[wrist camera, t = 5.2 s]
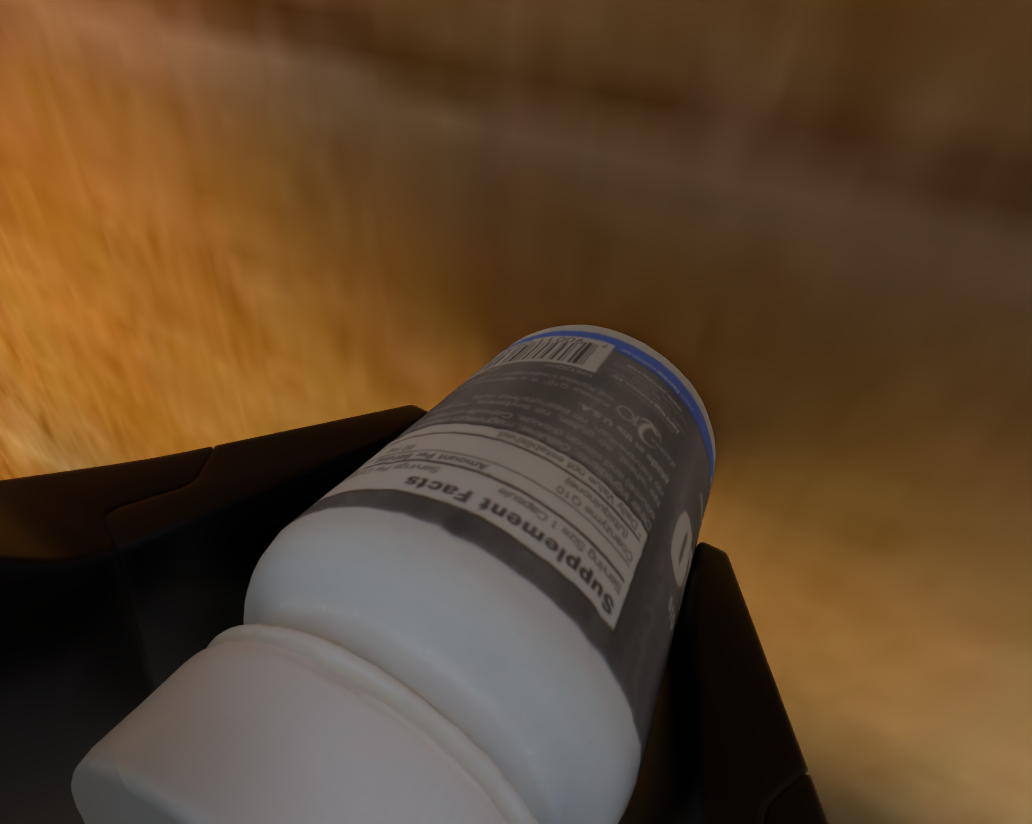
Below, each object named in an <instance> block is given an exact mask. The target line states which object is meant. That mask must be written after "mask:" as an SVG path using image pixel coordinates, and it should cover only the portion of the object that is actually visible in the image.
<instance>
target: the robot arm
mask: <svg viewBox="0 0 1032 824" xmlns="http://www.w3.org/2000/svg"><path fill="white" fill-rule="evenodd" d="M427 413H428V412H427V411H425V410H423V409H421V408H419V407H417V406H414V405H408V406H403V407H398V408H393V409H389V410H384V411H379V412H374V413H370V414H365V415H360V416H355V417H350V418H346V419H341V420H336V421H331V422H327V423H322V424H317V425H312V426H307V427H303V428H298V429H293V430H288V431H284V432H279V433H274V434H269V435H264V436H260V437H255V438H250V439H245V440H240V441H236V442H231V443H226V444H221V445H217V446H215V447H214V449H213V448H212V447H206V448H202V449H197V450H192V451H187V452H182V453H177V454H172V455H166V456H161V457H156V458H151V459H145V460H139V461H132V462H126V463H120V464H113V465H107V466H100V467H93V468H86V469H79V470H72V471H65V472H58V473H51V474H44V475H37V476H30V477H22V478H15V479H8V480H0V824H85V823H84V820H83V818H82V816H81V814H80V813H79V811H78V809H77V807H76V804H75V801H74V798H73V795H72V791H71V782H72V776H73V772H74V770H75V769H76V767H77V766H78V764H79V763H80V762H81V761H82V759H83V758H84V757H85V756H86V755H87V753H88V752H89V751H90V750H91V749H92V748H93V747H94V746H95V745H96V744H97V743H98V742H99V741H100V740H101V739H102V738H104V737H105V736H106V735H107V734H108V733H109V732H110V731H111V730H112V729H113V728H115V727H116V726H117V725H118V724H119V723H120V722H121V721H122V720H123V719H125V718H126V717H127V716H128V715H129V714H130V713H131V712H132V711H133V710H134V709H136V708H137V707H138V706H139V705H140V704H141V703H142V702H143V701H144V700H145V699H147V698H148V697H149V696H150V695H151V694H152V693H153V692H154V691H155V690H156V689H157V688H158V687H159V686H160V685H161V684H162V683H164V682H165V681H166V680H167V679H168V678H169V677H170V676H171V675H172V674H173V673H174V672H175V671H176V670H177V669H178V668H180V667H181V666H182V665H183V664H184V663H185V662H186V661H188V660H189V659H190V658H191V657H193V656H194V655H195V654H197V653H199V652H200V651H202V650H204V649H206V648H207V646H208V645H209V644H210V642H211V641H212V640H213V639H214V638H215V637H216V636H217V635H219V634H220V633H222V632H224V631H226V630H227V629H229V628H231V627H236V626H239V625H244V606H245V598H246V593H247V589H248V586H249V583H250V579H251V577H252V574H253V571H254V569H255V567H256V565H257V563H258V561H259V559H260V557H261V556H262V555H263V553H264V552H265V551H266V549H267V548H268V547H269V546H270V544H271V543H272V542H273V540H274V539H275V538H276V536H277V535H278V534H279V533H280V531H281V530H282V529H283V528H284V527H286V526H287V525H288V524H290V523H291V522H292V521H293V520H295V519H296V518H297V517H299V516H300V515H301V514H302V513H304V512H305V511H306V510H308V509H309V508H310V507H311V506H313V505H314V504H315V503H316V502H318V501H319V500H320V499H321V498H322V497H324V496H325V495H326V494H327V493H328V492H330V491H331V490H332V489H334V488H335V487H336V486H337V485H339V484H340V483H341V482H343V481H344V480H345V479H346V478H348V477H349V476H350V475H351V474H353V473H354V472H355V471H356V470H358V469H359V468H360V467H361V466H362V465H364V464H365V463H366V462H367V461H369V460H370V459H371V458H372V457H374V456H375V455H376V454H377V453H378V452H380V451H381V450H382V449H383V448H384V447H385V446H387V445H388V444H389V443H391V442H392V441H394V440H395V439H396V438H398V437H399V436H400V435H401V434H403V433H404V432H405V431H406V430H407V429H409V428H410V427H411V426H412V425H413V424H414V423H416V422H417V421H418V420H420V419H421V418H422V417H423V416H424V415H426V414H427ZM807 771H808V768H807V765H806V763H805V760H804V757H803V755H802V752H801V749H800V747H799V744H798V741H797V739H796V736H795V734H794V731H793V728H792V726H791V723H790V720H789V718H788V715H787V712H786V710H785V707H784V704H783V702H782V699H781V696H780V694H779V691H778V688H777V686H776V683H775V680H774V678H773V675H772V672H771V670H770V667H769V664H768V662H767V659H766V656H765V654H764V651H763V648H762V646H761V643H760V640H759V638H758V635H757V632H756V630H755V627H754V624H753V622H752V619H751V616H750V614H749V611H748V608H747V606H746V603H745V600H744V598H743V595H742V592H741V590H740V587H739V584H738V582H737V579H736V576H735V574H734V571H733V568H732V566H731V563H730V560H729V558H728V556H727V554H726V553H725V552H724V551H722V550H720V549H718V548H716V547H713V546H711V545H709V544H707V543H705V542H701V543H699V544H698V545H697V546H696V548H695V552H694V557H693V562H692V565H691V569H690V572H689V576H688V580H687V584H686V588H685V592H684V596H683V600H682V604H681V608H680V612H679V615H678V619H677V623H676V626H675V628H674V633H673V638H672V642H671V647H670V652H669V655H668V658H667V664H666V668H665V673H664V680H663V684H662V687H661V691H660V694H659V697H658V701H657V705H656V709H655V714H654V718H653V724H652V731H651V734H650V737H649V740H648V745H647V750H646V756H645V760H644V765H643V767H642V769H641V771H640V774H639V776H638V779H637V783H636V786H635V788H634V791H633V793H632V796H631V798H630V801H629V803H628V806H627V808H626V811H625V813H624V814H623V816H622V818H621V819H620V821H619V823H618V824H829V822H828V820H827V817H826V815H825V812H824V810H823V807H822V805H821V802H820V799H819V797H818V794H817V791H816V789H815V786H814V783H813V781H812V778H811V776H810V775H808V774H806V773H807Z"/></svg>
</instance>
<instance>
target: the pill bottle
mask: <svg viewBox="0 0 1032 824" xmlns="http://www.w3.org/2000/svg"><path fill="white" fill-rule="evenodd" d="M715 459H716V448H715V439H714V434H713V429H712V426H711V423H710V420H709V416H708V414H707V411H706V409H705V406H704V404H703V402H702V400H701V398H700V396H699V395H698V393H697V391H696V390H695V388H694V387H693V385H692V384H691V382H690V381H689V380H688V379H687V378H686V377H685V376H684V375H683V374H682V373H681V371H680V370H679V369H678V368H676V367H675V366H674V365H673V364H672V363H671V362H670V361H669V360H667V359H666V358H665V357H664V356H663V355H661V354H660V353H658V352H657V351H655V350H654V349H652V348H651V347H649V346H648V345H646V344H645V343H643V342H641V341H639V340H637V339H635V338H632V337H630V336H628V335H625V334H623V333H621V332H618V331H615V330H612V329H608V328H603V327H598V326H592V325H565V326H557V327H552V328H547V329H544V330H541V331H538V332H535V333H532V334H530V335H527V336H525V337H523V338H522V339H520V340H518V341H517V342H515V343H513V344H512V345H511V346H509V347H508V348H506V349H505V350H504V351H502V352H501V353H499V354H498V355H497V356H496V357H494V358H493V359H492V360H491V361H489V362H488V363H487V364H486V365H485V366H483V367H482V368H481V369H479V370H478V371H477V372H476V373H475V374H473V375H472V376H471V377H470V378H468V379H467V380H466V381H465V382H464V383H463V384H462V385H460V386H459V387H458V388H457V389H456V390H455V391H453V392H452V393H451V394H449V395H448V396H447V397H446V398H445V399H444V400H443V401H441V402H440V403H439V404H438V405H436V406H435V407H434V408H433V409H431V410H430V411H429V412H428V413H427V414H426V415H424V416H423V417H422V418H421V419H420V420H418V421H417V422H416V423H414V424H413V425H412V426H411V427H410V428H409V429H407V430H406V431H405V432H404V433H403V434H401V435H400V436H399V437H398V438H396V439H395V440H394V441H392V442H391V443H389V444H388V445H387V446H385V447H384V448H383V449H382V450H381V451H380V452H378V453H377V454H376V455H375V456H374V457H372V458H371V459H370V460H369V461H367V462H366V463H365V464H364V465H362V466H361V467H360V468H359V469H358V470H356V471H355V472H354V473H353V474H351V475H350V476H349V477H348V478H346V479H345V480H344V481H343V482H341V483H340V484H339V485H337V486H336V487H335V488H334V489H332V490H331V491H330V492H328V493H327V494H326V495H325V496H324V497H322V498H321V499H320V500H319V501H318V502H316V503H315V504H314V505H313V506H311V507H310V508H309V509H308V510H306V511H305V512H304V513H302V514H301V515H300V516H299V517H297V518H296V519H295V520H293V521H292V522H291V523H290V524H288V525H287V526H286V527H284V528H283V529H282V530H281V531H280V533H279V534H278V535H277V536H276V538H275V539H274V540H273V542H272V543H271V544H270V546H269V547H268V548H267V549H266V551H265V552H264V553H263V555H262V556H261V557H260V559H259V561H258V563H257V565H256V567H255V569H254V571H253V574H252V577H251V579H250V583H249V586H248V589H247V593H246V598H245V606H244V625H239V626H236V627H231V628H229V629H227V630H226V631H224V632H222V633H220V634H219V635H217V636H216V637H215V638H214V639H213V640H212V641H211V642H210V644H209V645H208V646H207V648H206V649H204V650H202V651H200V652H199V653H197V654H195V655H194V656H193V657H191V658H190V659H189V660H188V661H186V662H185V663H184V664H183V665H182V666H181V667H180V668H178V669H177V670H176V671H175V672H174V673H173V674H172V675H171V676H170V677H169V678H168V679H167V680H166V681H165V682H164V683H162V684H161V685H160V686H159V687H158V688H157V689H156V690H155V691H154V692H153V693H152V694H151V695H150V696H149V697H148V698H147V699H145V700H144V701H143V702H142V703H141V704H140V705H139V706H138V707H137V708H136V709H134V710H133V711H132V712H131V713H130V714H129V715H128V716H127V717H126V718H125V719H123V720H122V721H121V722H120V723H119V724H118V725H117V726H116V727H115V728H113V729H112V730H111V731H110V732H109V733H108V734H107V735H106V736H105V737H104V738H102V739H101V740H100V741H99V742H98V743H97V744H96V745H95V746H94V747H93V748H92V749H91V750H90V751H89V752H88V753H87V755H86V756H85V757H84V758H83V759H82V761H81V762H80V763H79V764H78V766H77V767H76V769H75V770H74V772H73V776H72V782H71V791H72V795H73V798H74V801H75V804H76V807H77V809H78V811H79V813H80V814H81V816H82V818H83V820H84V823H85V824H618V823H619V821H620V819H621V818H622V816H623V814H624V813H625V811H626V808H627V806H628V803H629V801H630V798H631V796H632V793H633V791H634V788H635V786H636V783H637V779H638V776H639V774H640V771H641V769H642V767H643V765H644V760H645V756H646V750H647V745H648V740H649V737H650V734H651V731H652V724H653V718H654V714H655V709H656V705H657V701H658V697H659V694H660V691H661V687H662V684H663V680H664V673H665V668H666V664H667V658H668V655H669V652H670V647H671V642H672V638H673V633H674V628H675V626H676V623H677V619H678V615H679V612H680V608H681V604H682V600H683V596H684V592H685V588H686V584H687V580H688V576H689V572H690V569H691V565H692V562H693V557H694V552H695V548H696V544H697V540H698V536H699V531H700V528H701V524H702V519H703V516H704V512H705V509H706V505H707V502H708V498H709V493H710V490H711V485H712V479H713V474H714V469H715Z"/></svg>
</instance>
